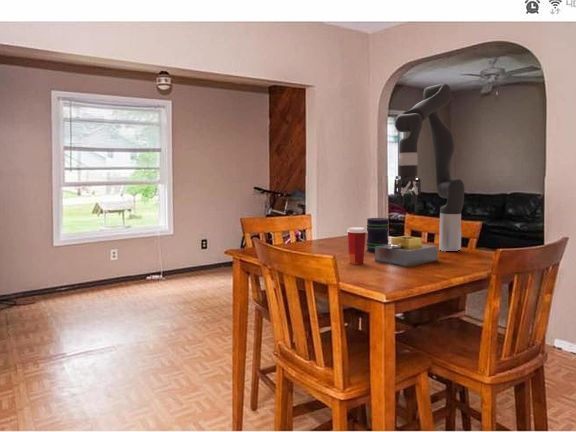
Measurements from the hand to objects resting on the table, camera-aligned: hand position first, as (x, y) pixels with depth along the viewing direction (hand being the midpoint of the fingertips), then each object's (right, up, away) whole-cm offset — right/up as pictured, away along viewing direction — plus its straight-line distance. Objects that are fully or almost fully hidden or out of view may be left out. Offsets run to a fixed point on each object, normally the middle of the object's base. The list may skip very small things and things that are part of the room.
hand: (407, 204), depth 189 cm
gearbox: (0, -23, +2) cm, 23 cm away
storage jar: (-7, -21, +26) cm, 34 cm away
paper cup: (-21, -24, -2) cm, 32 cm away
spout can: (0, -22, +2) cm, 23 cm away
